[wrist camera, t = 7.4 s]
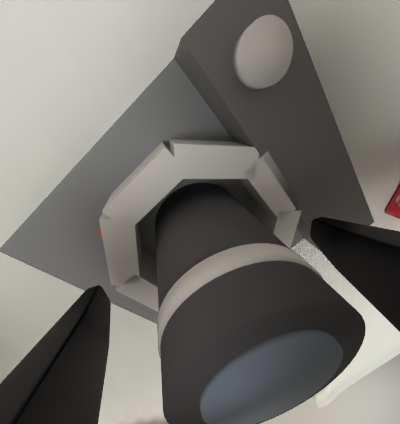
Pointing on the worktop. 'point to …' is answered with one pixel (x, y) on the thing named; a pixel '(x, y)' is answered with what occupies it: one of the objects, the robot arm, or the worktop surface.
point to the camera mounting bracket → (200, 155)
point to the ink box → (394, 205)
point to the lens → (241, 315)
